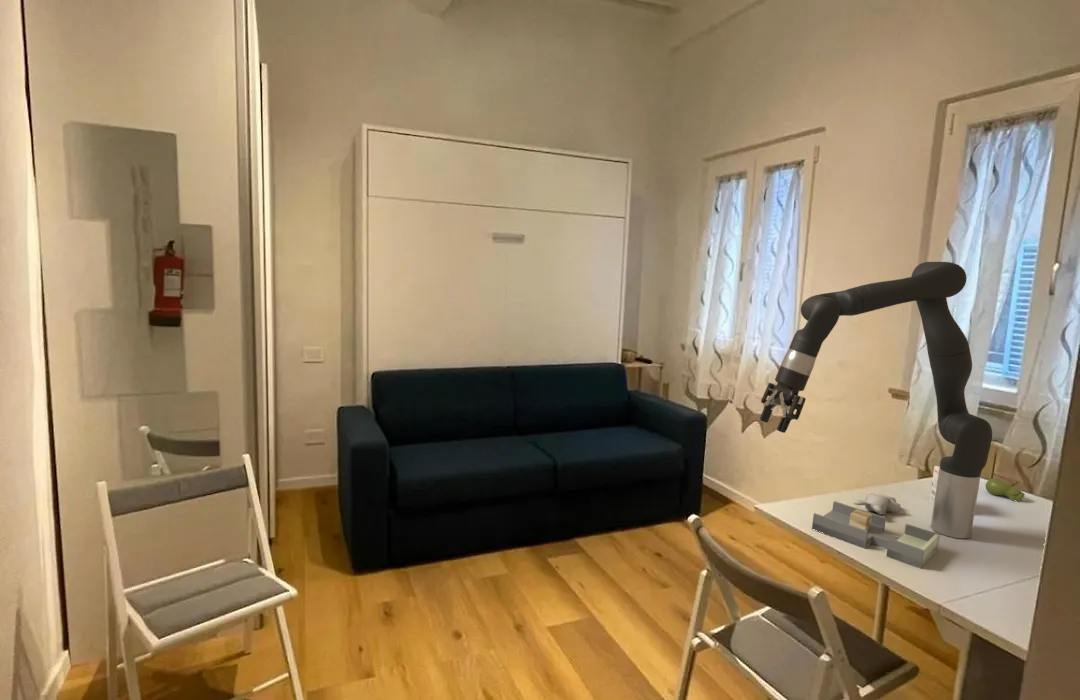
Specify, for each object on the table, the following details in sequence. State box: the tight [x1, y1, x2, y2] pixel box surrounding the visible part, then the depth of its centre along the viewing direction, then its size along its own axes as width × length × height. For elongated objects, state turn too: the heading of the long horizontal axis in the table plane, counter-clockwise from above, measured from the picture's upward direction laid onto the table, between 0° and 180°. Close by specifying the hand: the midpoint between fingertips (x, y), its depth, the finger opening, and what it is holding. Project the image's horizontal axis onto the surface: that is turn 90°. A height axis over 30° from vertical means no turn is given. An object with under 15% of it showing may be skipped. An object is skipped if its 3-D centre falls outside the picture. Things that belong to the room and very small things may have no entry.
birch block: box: [849, 510, 872, 531], centre depth 159 cm, size 4×4×4 cm
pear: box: [985, 478, 1025, 502], centre depth 192 cm, size 6×5×10 cm
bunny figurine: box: [853, 492, 901, 516], centre depth 176 cm, size 10×5×15 cm
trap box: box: [811, 500, 941, 569], centre depth 157 cm, size 14×26×4 cm, turn 43°
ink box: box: [929, 465, 940, 506], centre depth 180 cm, size 9×5×12 cm, turn 168°
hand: (771, 426), depth 158 cm, fingers open, 8 cm apart
